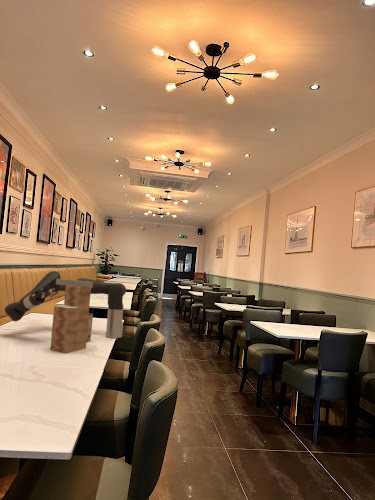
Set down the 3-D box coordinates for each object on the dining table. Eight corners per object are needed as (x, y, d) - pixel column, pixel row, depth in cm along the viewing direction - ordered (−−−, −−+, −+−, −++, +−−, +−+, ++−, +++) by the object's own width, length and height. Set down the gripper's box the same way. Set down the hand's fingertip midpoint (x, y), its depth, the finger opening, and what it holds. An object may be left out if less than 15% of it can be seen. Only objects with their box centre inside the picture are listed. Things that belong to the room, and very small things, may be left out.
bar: (55, 284, 193) (56, 278, 193) (59, 284, 195) (60, 278, 195) (88, 287, 184) (89, 282, 184) (92, 287, 187) (93, 281, 187)
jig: (50, 350, 179) (55, 286, 180) (70, 345, 193) (75, 285, 194) (65, 353, 175) (71, 287, 176) (85, 347, 189) (90, 287, 190)
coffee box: (71, 340, 203) (73, 312, 204) (79, 338, 209) (81, 311, 210) (83, 343, 199) (85, 314, 200) (91, 341, 205) (93, 313, 206)
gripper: (21, 294, 194) (43, 281, 189) (41, 293, 207) (62, 281, 202) (26, 307, 192) (47, 294, 187) (45, 305, 205) (66, 293, 200)
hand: (55, 287), depth 195 cm, fingers open, 8 cm apart
